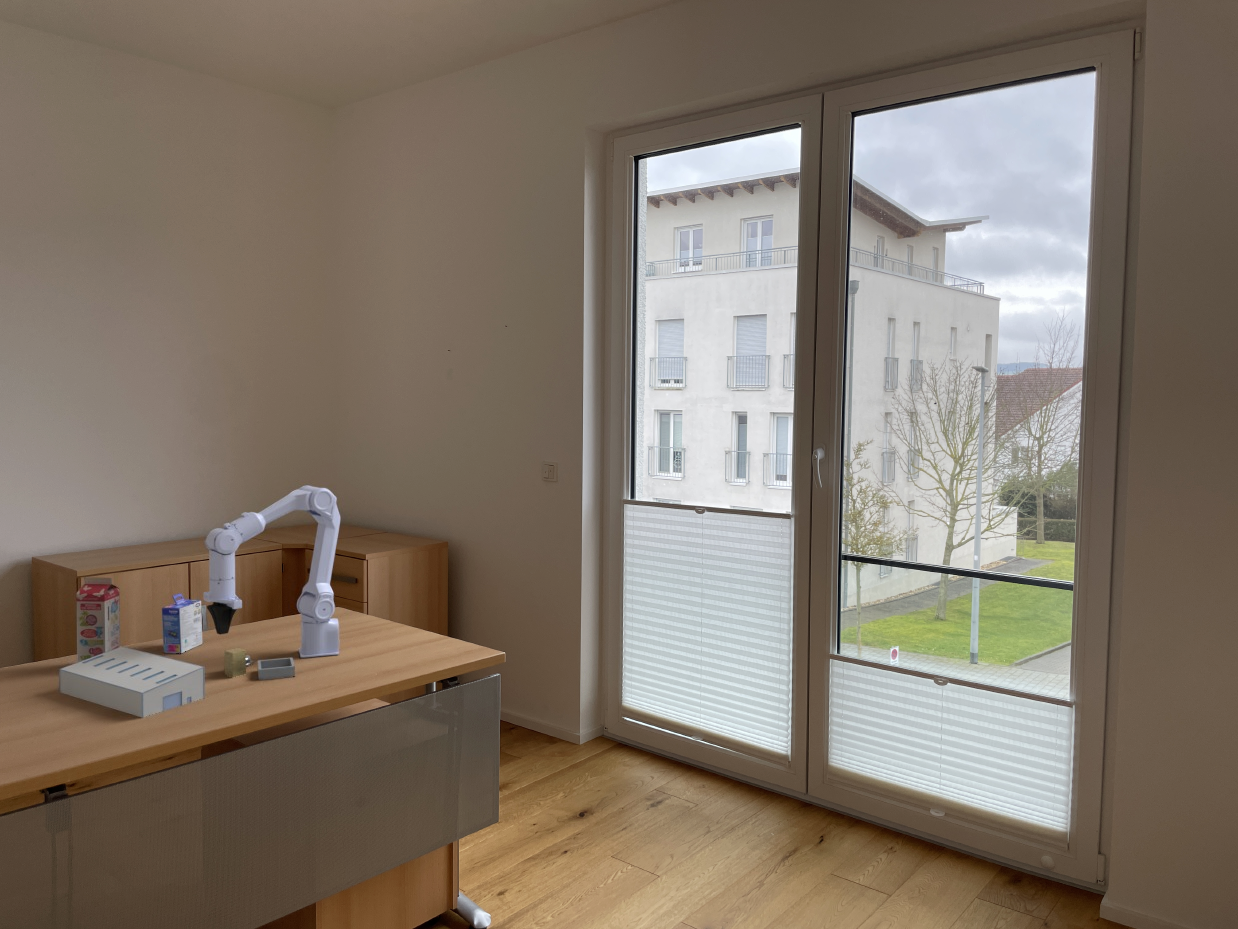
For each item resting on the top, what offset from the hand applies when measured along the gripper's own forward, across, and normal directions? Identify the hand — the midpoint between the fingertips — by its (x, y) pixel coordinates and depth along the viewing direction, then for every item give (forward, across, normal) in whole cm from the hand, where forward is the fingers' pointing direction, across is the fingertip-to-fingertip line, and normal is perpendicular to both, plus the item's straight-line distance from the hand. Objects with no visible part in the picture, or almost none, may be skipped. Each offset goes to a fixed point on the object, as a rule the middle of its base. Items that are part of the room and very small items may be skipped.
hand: (222, 633), depth 210 cm
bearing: (+9, -2, +6) cm, 11 cm away
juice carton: (+10, -26, -18) cm, 33 cm away
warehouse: (+10, +2, -22) cm, 24 cm away
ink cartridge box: (+10, -26, +3) cm, 28 cm away
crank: (+9, 0, +4) cm, 9 cm away
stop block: (+9, +5, +1) cm, 11 cm away
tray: (+9, +11, +7) cm, 16 cm away
